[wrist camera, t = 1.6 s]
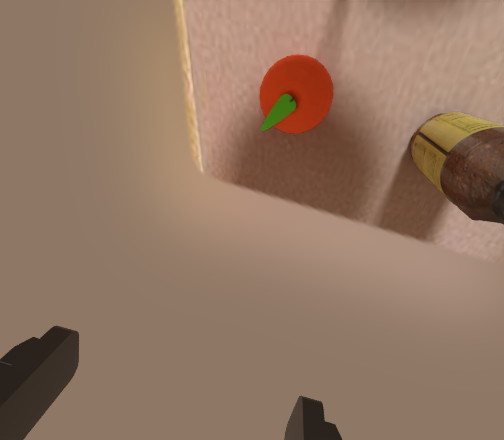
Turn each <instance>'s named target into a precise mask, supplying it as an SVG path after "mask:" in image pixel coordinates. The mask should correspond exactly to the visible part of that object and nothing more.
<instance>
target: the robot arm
mask: <svg viewBox="0 0 504 440" xmlns="http://www.w3.org/2000/svg"><path fill="white" fill-rule="evenodd" d="M78 362H79V333H78V332H77V331H74V330H71V329H67V328H63V327H60V326H54V327H52V328H51V329H50V330H49V331H48V332H46V333H45V334H44V335H43V336H42V337H41V338H40V339H38V338H35V337H32V338H30V339H28V340H26V341H25V342H23V343H21V344H19V345H17V346H15V347H14V348H12V349H11V350H10V351H9V352H8V353H7V354H6V355H5V356H3V357H2V358H1V359H0V440H23V439H24V438H25V437H26V436H27V434H28V433H29V432H30V431H31V429H32V428H33V427H34V426H35V424H36V423H37V422H38V420H39V419H40V418H41V417H42V416H43V414H44V413H45V412H46V410H47V409H48V408H49V407H50V405H51V404H52V403H53V402H54V400H55V399H56V398H57V397H58V396H59V394H60V393H61V392H62V391H63V389H64V388H65V387H66V385H67V384H68V383H69V382H70V380H71V379H72V377H73V376H74V374H75V372H76V369H77V367H78ZM284 440H342V438H341V436H340V434H339V432H338V430H337V428H336V425H335V424H332V423H329V422H325V420H324V409H323V404H322V402H321V401H317V400H314V399H310V398H307V397H303V396H299V398H298V400H297V403H296V405H295V407H294V409H293V412H292V414H291V417H290V419H289V421H288V424H287V428H286V432H285V439H284Z"/></svg>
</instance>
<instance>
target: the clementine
mask: <svg viewBox="0 0 504 440" xmlns="http://www.w3.org/2000/svg"><path fill="white" fill-rule="evenodd" d="M332 99H333V84H332V81H331V78H330V75H329V73H328V72H327V70H326V69H325V67H324V66H323V65H322V64H321V63H320V62H318V61H317V60H316V59H314V58H311V57H309V56H306V55H292V56H287V57H285V58H283V59H281V60H279V61H277V62H276V63H275V64H274V65H273V66H272V67H271V68H270V69H269V71H268V72H267V74H266V75H265V77H264V79H263V82H262V84H261V87H260V105H261V109H262V111H263V114H264V116H265V117H266V119H265V121H264V123H263V125H262V127H261V131H264V130H267V129H268V128H270V127H272V126H274V127H275V128H276V129H279V130H281V131H283V132H287V133H293V134H294V133H303V132H305V131H308V130H310V129H312V128H313V127H315V126H316V125H318V124H319V123H320V122H321V121H322V120H323V119H324V117H325V116H326V115H327V113H328V111H329V109H330V107H331V103H332Z"/></svg>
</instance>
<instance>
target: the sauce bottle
mask: <svg viewBox="0 0 504 440" xmlns="http://www.w3.org/2000/svg"><path fill="white" fill-rule="evenodd" d="M411 156H412V159H413V160H414V162H415V164H416V165H417V167H418V168H419V169H420V170H421V171H422V172H423V173H424V174H425V175H426V177H427V178H428V179H429V180H430V181H431V182H432V183H433V184H434V185H435V186H436V187H437V188H438V189H439V190H440V191H441V192H442V193H443V194H444V195H445V196H446V197H447V199H448V200H449V201H451V202H452V203H453V204H454V205H456V206H457V207H458V208H459V209H460V210H461V211H463V212H464V213H465V214H466V215H467V216H469V218H471V219H472V220H482V221H490V222H497V223H502V224H504V125H501V124H497V123H494V122H491V121H488V120H484V119H481V118H478V117H475V116H471V115H468V114H465V113H460V112H454V113H446V114H438V115H435V116H434V117H432V118H430V119H429V120H427V121H426V122H425V123H424V124H422V125H421V126H420V127H419V129H417V131H416V132H415V133H414V135H413V138H412V141H411Z"/></svg>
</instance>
